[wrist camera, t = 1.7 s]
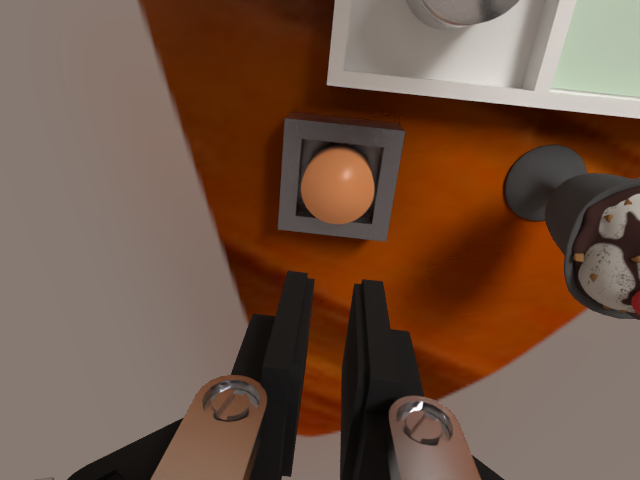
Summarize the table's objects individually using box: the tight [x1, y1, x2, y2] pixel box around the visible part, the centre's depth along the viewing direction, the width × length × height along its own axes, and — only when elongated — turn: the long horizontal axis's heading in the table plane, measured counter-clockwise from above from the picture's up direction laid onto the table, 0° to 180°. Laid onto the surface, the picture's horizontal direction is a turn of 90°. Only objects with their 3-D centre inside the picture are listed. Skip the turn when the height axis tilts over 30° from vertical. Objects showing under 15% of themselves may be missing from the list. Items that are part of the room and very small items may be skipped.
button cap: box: [301, 145, 374, 224], centre depth 25 cm, size 4×4×2 cm
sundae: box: [505, 145, 640, 320], centre depth 20 cm, size 7×7×15 cm
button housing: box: [278, 112, 405, 241], centre depth 26 cm, size 7×7×3 cm
